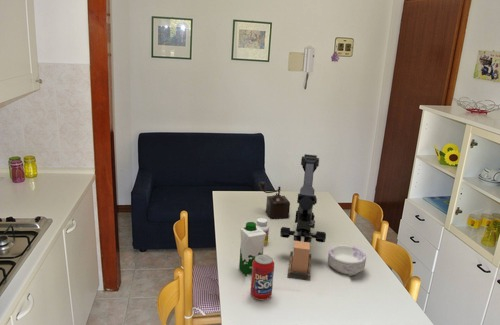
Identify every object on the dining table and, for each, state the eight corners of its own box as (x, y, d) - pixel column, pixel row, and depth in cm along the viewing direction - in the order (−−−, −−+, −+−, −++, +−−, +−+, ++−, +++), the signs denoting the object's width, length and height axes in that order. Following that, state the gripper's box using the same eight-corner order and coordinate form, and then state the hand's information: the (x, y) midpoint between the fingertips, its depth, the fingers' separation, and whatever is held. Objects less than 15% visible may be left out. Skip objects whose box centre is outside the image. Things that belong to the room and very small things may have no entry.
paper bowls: (319, 263, 176) (321, 247, 174) (349, 258, 182) (351, 242, 180) (340, 282, 162) (343, 265, 160) (371, 276, 168) (374, 259, 166)
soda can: (259, 286, 156) (261, 251, 152) (275, 295, 152) (279, 258, 148) (245, 295, 151) (248, 258, 146) (262, 304, 146) (265, 266, 142)
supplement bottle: (266, 250, 184) (268, 224, 180) (251, 248, 185) (253, 222, 182) (268, 243, 190) (270, 218, 187) (254, 241, 191) (256, 216, 188)
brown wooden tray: (289, 258, 178) (290, 251, 177) (310, 261, 177) (311, 254, 176) (286, 280, 161) (287, 272, 160) (309, 284, 160) (310, 275, 159)
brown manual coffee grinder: (282, 210, 229) (285, 180, 224) (289, 218, 219) (292, 187, 214) (255, 211, 226) (258, 180, 221) (261, 220, 215) (263, 187, 210)
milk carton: (254, 264, 172) (258, 220, 167) (265, 274, 165) (269, 229, 159) (235, 268, 168) (238, 223, 163) (245, 279, 161) (249, 232, 155)
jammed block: (292, 267, 169) (294, 240, 165) (306, 269, 168) (309, 242, 164) (291, 274, 163) (293, 247, 160) (306, 277, 162) (309, 249, 159)
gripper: (282, 209, 170) (277, 245, 163) (328, 214, 167) (325, 251, 160) (282, 218, 180) (278, 253, 172) (325, 224, 177) (323, 259, 170)
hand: (300, 254), depth 168 cm, fingers closed
